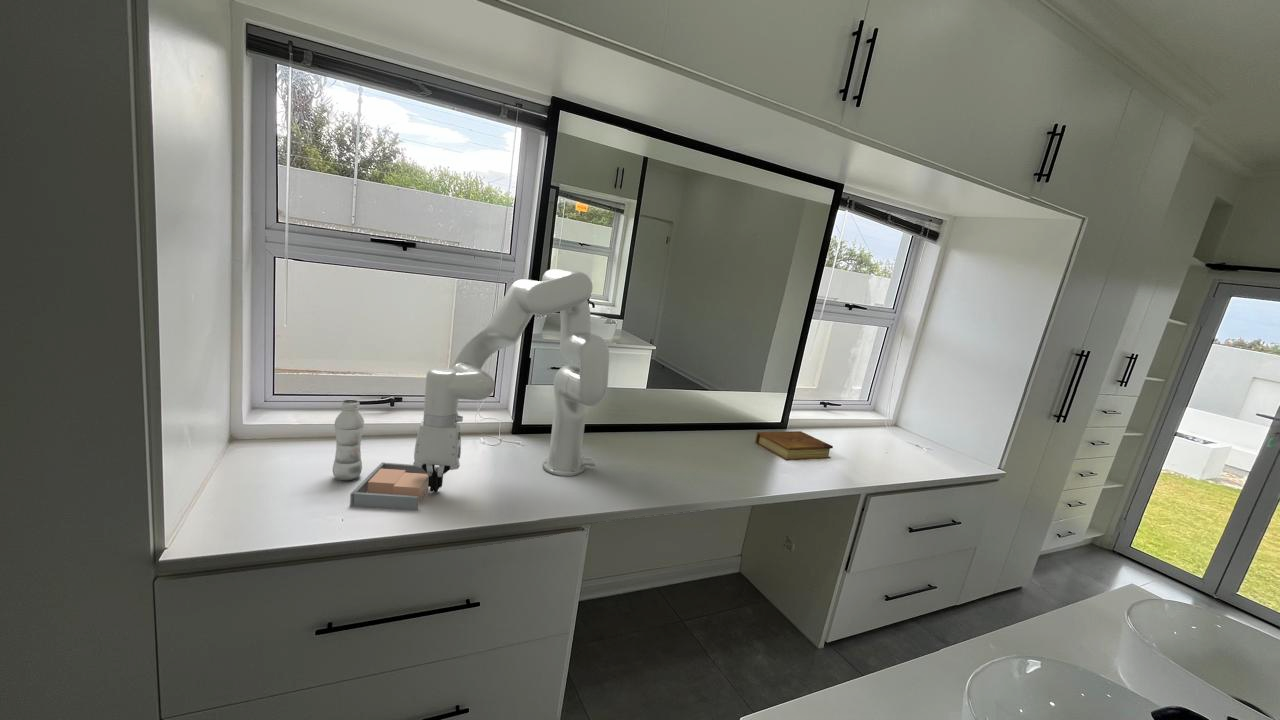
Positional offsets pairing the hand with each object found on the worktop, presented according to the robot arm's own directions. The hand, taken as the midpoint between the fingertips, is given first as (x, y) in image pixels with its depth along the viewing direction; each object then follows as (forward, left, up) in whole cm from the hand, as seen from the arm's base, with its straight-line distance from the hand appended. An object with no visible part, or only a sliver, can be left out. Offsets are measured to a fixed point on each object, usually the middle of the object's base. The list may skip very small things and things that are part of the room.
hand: (435, 489), depth 122 cm
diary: (-123, -58, -2) cm, 136 cm away
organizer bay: (+8, 0, -1) cm, 9 cm away
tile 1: (+11, 0, -1) cm, 11 cm away
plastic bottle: (+22, -5, -1) cm, 23 cm away
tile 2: (+5, +1, -1) cm, 6 cm away
